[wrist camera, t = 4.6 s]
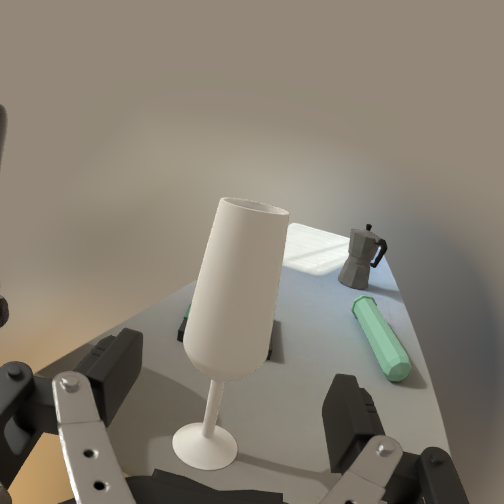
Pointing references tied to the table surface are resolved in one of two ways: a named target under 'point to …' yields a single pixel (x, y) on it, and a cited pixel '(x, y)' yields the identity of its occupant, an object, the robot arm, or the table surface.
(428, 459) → the robot arm
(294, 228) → the table surface
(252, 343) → the champagne flute
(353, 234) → the coffeepot
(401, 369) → the container
